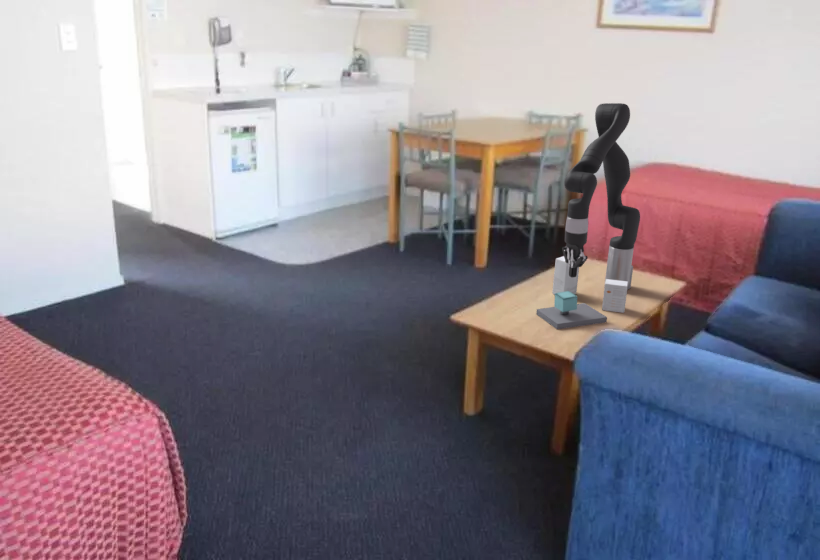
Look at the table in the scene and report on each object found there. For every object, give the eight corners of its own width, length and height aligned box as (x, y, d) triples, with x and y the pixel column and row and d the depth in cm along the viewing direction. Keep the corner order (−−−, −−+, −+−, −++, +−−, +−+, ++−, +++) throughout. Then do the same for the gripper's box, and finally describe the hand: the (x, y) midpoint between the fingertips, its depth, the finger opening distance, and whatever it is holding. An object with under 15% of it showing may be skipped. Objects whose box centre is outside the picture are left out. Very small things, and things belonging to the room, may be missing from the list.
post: (565, 311, 243) (567, 294, 241) (570, 314, 240) (572, 297, 238) (558, 312, 242) (560, 295, 240) (563, 315, 239) (564, 298, 237)
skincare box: (565, 289, 271) (568, 253, 266) (577, 293, 266) (581, 257, 261) (551, 294, 266) (554, 257, 260) (563, 298, 261) (567, 261, 256)
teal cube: (568, 304, 244) (568, 290, 242) (576, 309, 239) (577, 296, 237) (554, 306, 242) (554, 293, 240) (562, 311, 237) (563, 298, 235)
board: (583, 308, 252) (584, 303, 252) (606, 322, 240) (607, 317, 239) (536, 314, 246) (536, 309, 245) (556, 329, 233) (557, 323, 233)
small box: (624, 307, 253) (628, 281, 250) (624, 313, 248) (627, 286, 245) (602, 304, 256) (605, 278, 252) (601, 310, 251) (604, 283, 247)
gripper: (597, 233, 231) (592, 281, 237) (575, 223, 242) (571, 269, 248) (578, 235, 228) (573, 284, 234) (556, 225, 240) (553, 272, 246)
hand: (572, 276), depth 241 cm, fingers closed
